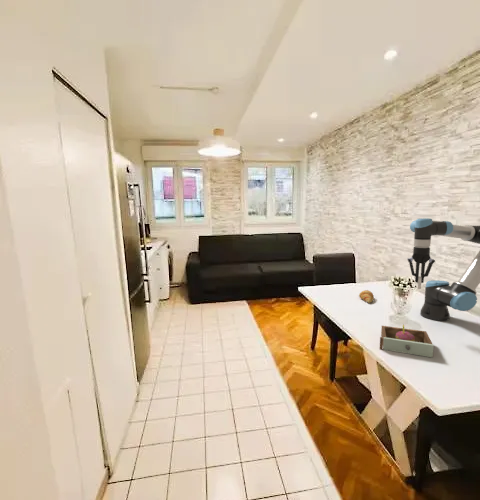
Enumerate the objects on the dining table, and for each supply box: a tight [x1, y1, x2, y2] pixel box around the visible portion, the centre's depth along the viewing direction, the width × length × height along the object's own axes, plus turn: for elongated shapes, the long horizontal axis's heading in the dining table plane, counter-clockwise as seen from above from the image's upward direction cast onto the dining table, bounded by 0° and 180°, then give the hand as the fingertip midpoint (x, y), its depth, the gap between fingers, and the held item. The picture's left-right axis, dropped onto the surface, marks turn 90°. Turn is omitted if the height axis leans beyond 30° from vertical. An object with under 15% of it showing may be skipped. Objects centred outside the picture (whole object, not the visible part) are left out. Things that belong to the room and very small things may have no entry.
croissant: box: [358, 289, 375, 304], centre depth 204 cm, size 21×10×8 cm, turn 166°
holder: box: [379, 325, 433, 350], centre depth 136 cm, size 22×16×6 cm
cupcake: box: [396, 323, 415, 341], centre depth 136 cm, size 9×8×12 cm
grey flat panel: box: [382, 337, 434, 358], centre depth 129 cm, size 20×3×6 cm, turn 66°
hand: (418, 288), depth 150 cm, fingers closed
